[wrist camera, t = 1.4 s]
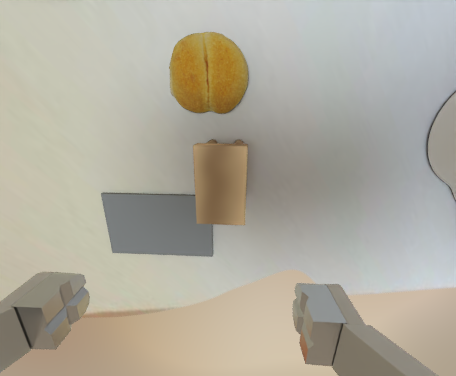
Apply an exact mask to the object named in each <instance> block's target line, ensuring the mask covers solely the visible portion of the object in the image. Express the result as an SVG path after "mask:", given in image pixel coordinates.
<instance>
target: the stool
mask: <svg viewBox="0 0 456 376" xmlns="http://www.w3.org/2000/svg"><path fill="white" fill-rule="evenodd" d="M247 150H248V146H247V144H243V141H242V140H236V141H235V143H234V144H217V141H216V140H214V139H212V140H210V141H209V142H207V143H197V144H195V145H194V146H193V154H194V176H195V197H196V219H197V224H224V225H245V208H246V179H247Z"/></svg>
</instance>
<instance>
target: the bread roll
mask: <svg viewBox="0 0 456 376" xmlns="http://www.w3.org/2000/svg"><path fill="white" fill-rule="evenodd" d="M169 69H170V88H171V94H172V95H173V96H174V97H175V98H176V100H177V101H178V103H179V104H180V105H181V106H182V107H183V108H185V109H187V110H189V111H192V112H195V113H202V112H206V111H214V112H216V113H221V114H222V113H227V112H229V111H231V110H232V109H233V108H234V107H235V106H236V105H237V104H238V103H239V102H240V100H241V99H242V97H243V95H244V93H245V91H246V88H247V85H248V67H247V63H246V60H245V58H244V56H243V54H242V52H241V51H240V49H239V48H238V47H237V45H236V44H235V43H234V42H233V41H231V40H230V39H228V38H227V37H225V36H224V35H222V34H219V33H215V32H205V33H195V34H191V35H188V36H186V37H184V38H183V39H181V40H180V41H179V42H178V43H177V44H176V45H175V47H174V50H173V53H172V57H171V62H170V67H169Z"/></svg>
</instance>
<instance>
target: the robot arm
mask: <svg viewBox="0 0 456 376" xmlns="http://www.w3.org/2000/svg"><path fill="white" fill-rule="evenodd" d="M428 157H429V161H430V164H431V167H432V169H433V170H434V172H435V173H436V175H437V176H438V177H439V178H440V179H441V180H443V181H444V182H445V183H446V184H448V185H449V186H450V188H451V189H452V192H453V195H454V197H455V200H456V93H455V94H454V95H453V96H452V97H451V98H450V99H449V100H448V101H447V102H446V104H445V105H444V106H443V108H442V109H441V111H440V112H439V114H438V116H437V117H436V119H435V121H434V124H433V126H432V129H431V132H430V135H429V140H428ZM85 283H86V280H85V277H84V275H82V274H75V273H61V272H40V273H37V274H36V275H35V276H33V277H32V278H31V279H29V280H28V281H27V282H25V283H24V284H23V285H22V286H20V287H19V288H18V289H16V290H15V291H14V292H12V293H11V294H10V295H8V296H7V297H6V298H4V299H3V300H2V301H0V372H1V371H3V370H5V369H6V368H7V367H9V366H10V365H11V364H12V363H14V362H15V361H17V360H18V359H20V358H21V357H22V356H24V355H25V354H26V353H28V352H29V351H30V350H31V349H57V347H58V346H59V345H60V344H61V342H62V341H63V340H64V339H65V337H66V336H67V335H68V333H69V332H70V331H71V324H73V323H74V322H76V321H78V320H79V319H80V318H81V317H82V316H83V314H84V313H85V312H86V309H87V307H88V305H89V298H90V296H89V292H88V291H87V290H86V289H85V288H84V285H85ZM295 294H296V297H297V298H296V299H295V300H294V301H293V320H294V325H295V328H296V331H297V332H298V333H299V334H301V336H300V346H301V350H302V354H303V357H304V360H305V364H312V365H323V366H333V367H332V368H333V369H334V370H335V372H336V373H337V374H338V375H339V376H438V375H437V374H436V373H434V372H433V371H431V370H430V369H429V368H427V367H426V366H424V365H423V364H422V363H421V362H419V361H418V360H417V359H415V358H414V357H412V356H411V355H410V354H409V353H407V352H406V351H404V350H403V349H402V348H400V347H399V346H398V345H396V344H395V343H393V342H392V341H391V340H390V339H388V338H387V337H386V336H384V335H383V334H382V333H380V332H379V331H377V330H376V329H375V328H373V327H372V326H370V325H365V323H364V322H363V320H362V318H361V317H360V315H359V314H358V312H357V310H356V309H355V307H354V306H353V304H352V302H351V301H350V299H349V298H348V296H347V295H346V293H345V291H344V290H343V288H342V287H341V286H340V285H339V284H304V283H297V284H296V287H295Z"/></svg>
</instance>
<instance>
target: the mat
mask: <svg viewBox="0 0 456 376" xmlns="http://www.w3.org/2000/svg"><path fill="white" fill-rule="evenodd" d="M101 196H102V201H103V206H104V212H105V217H106V222H107V227H108V232H109V237H110V242H111V247H112V252H113V253H131V254H158V255H185V256H211V257H213V232H212V224H197V219H196V197H195V195H175V194H132V193H101Z"/></svg>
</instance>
